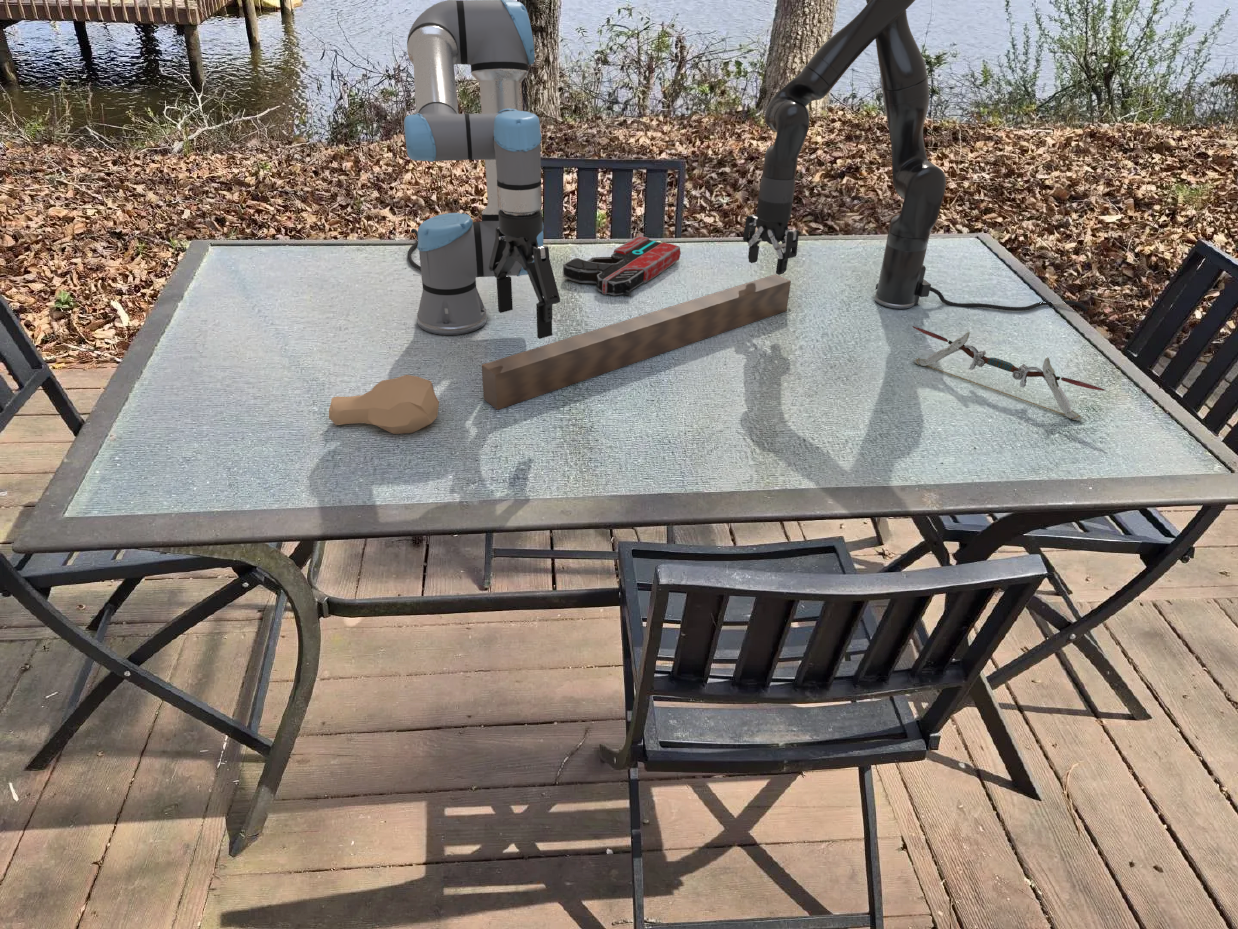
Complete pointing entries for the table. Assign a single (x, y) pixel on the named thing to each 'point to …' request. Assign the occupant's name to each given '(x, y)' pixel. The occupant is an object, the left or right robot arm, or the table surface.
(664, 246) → the gun
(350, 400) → the squash
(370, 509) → the table surface
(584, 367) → the post
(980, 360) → the bow
